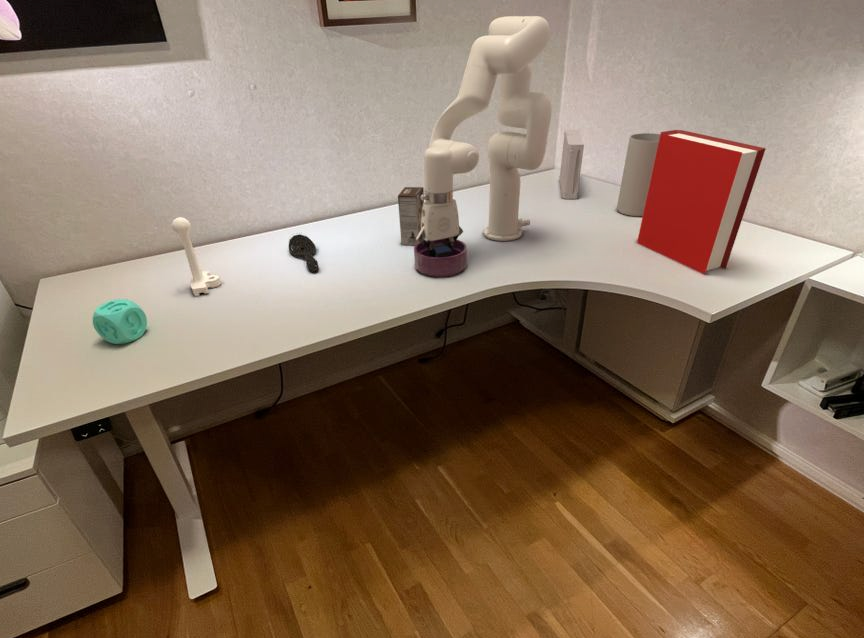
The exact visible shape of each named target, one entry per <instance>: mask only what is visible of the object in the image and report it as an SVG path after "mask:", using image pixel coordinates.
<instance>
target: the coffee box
mask: <svg viewBox="0 0 864 638" xmlns="http://www.w3.org/2000/svg"><path fill="white" fill-rule="evenodd" d="M424 191H425V186H424V187H422V186H421V187H420V186H404V188H402V190H401V191H400V192H399V193H398V195H397V204H398V215H399V217H398V218H399V228H400V242H401V245H403V246H405V245H406V246H415V245H416V244H417V243H419V242H418V241H417V240H416V237H417V236H418V234H419V232H420V230H421V218H422V208H423V203H424V202H425V200H421V195H423V194H424V193H425V192H424ZM424 238H426V236H424V237H423V239H424ZM424 240H425V239H424Z"/></svg>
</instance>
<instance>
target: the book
mask: <svg viewBox="0 0 864 638" xmlns="http://www.w3.org/2000/svg"><path fill="white" fill-rule="evenodd" d="M659 134H660V138H659V143H658V148H657V152H656V157H655V162H654V166H653V171H652V175H651V180H650V185H649V189H648V194H647V199H646V203H645V208H644V212H643V216H641V217H642V218H641V222H640V227H639V232H638V235H637V241H636V243H637V244H639V245H641V246H644V247H645V248H647V249H650V250H652V251H654V252H656V253H657V254H659V255H662V256H664V257H666V258H668V259H670V260H673V261H674V262H677V263H679V264H681V265H683V266H685V267H688V268H690V269H691V270H693V271H696V272H698V273H700V274H702V275H706V271H711V270H715V269H717V268H722V269H725V270H726V269H727V266H728V263H729V260H730V257H731V254H732V251H733V248H734V245H735V242H736V239H737V236H738V233H739V230H740V227H741V224H742V222H743V221H742V220H743V218H744V216H745V212H746V209H747V206H748V203H749V200H750V197H751V194H752V192H753V188H754V185H755V181H756V180H757V179H756V178H757V177H758V173H759V171H760V168H761V164H762V161H763V158H764V155H765V152H766V149H767V148H766V147H762V146H757V145H752V144H749V143H743V142H739V141H734V140H730V139H725V138H721V137H714V136H711V135H706V134H702V133H698V132H697V133H696V132H692V131H689V130H688V131H687V130H685V129H684V130H683V129H673V130H666V131H661V132H660V133H659Z"/></svg>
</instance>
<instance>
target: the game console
mask: <svg viewBox="0 0 864 638" xmlns="http://www.w3.org/2000/svg"><path fill="white" fill-rule="evenodd" d="M562 142H563V143H562V151H561V152H562V153H561V162H560V171H559V176H558V177H559V185H560V193H561V198H562V199H565V200H569V199H570V200H577V199H578V194H579V186H580V179H581V170H582V163H583V157H584V148H585V144H584V141H583V138H582V135H581V131H580V129H564V132H563V141H562Z"/></svg>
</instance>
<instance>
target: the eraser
mask: <svg viewBox="0 0 864 638" xmlns="http://www.w3.org/2000/svg"><path fill="white" fill-rule="evenodd" d="M434 249H435V258H442V257H450V256H452V250H451V249H450V248H449V247H447V246H445V245H444V244H443V243H438V244H434Z"/></svg>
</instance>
